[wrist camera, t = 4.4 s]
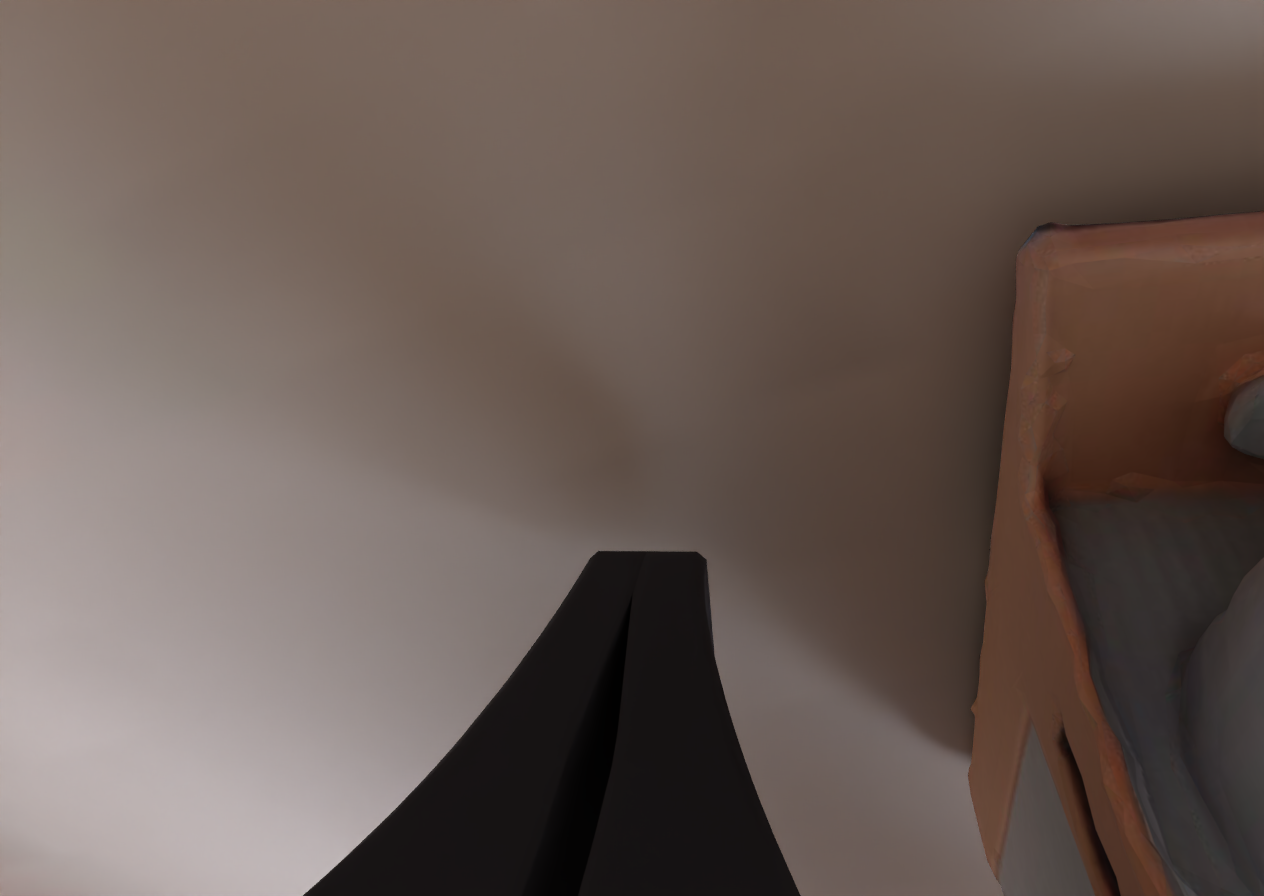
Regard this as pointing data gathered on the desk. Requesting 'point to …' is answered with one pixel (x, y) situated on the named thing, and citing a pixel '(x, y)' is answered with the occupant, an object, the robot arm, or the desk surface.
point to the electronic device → (1128, 568)
